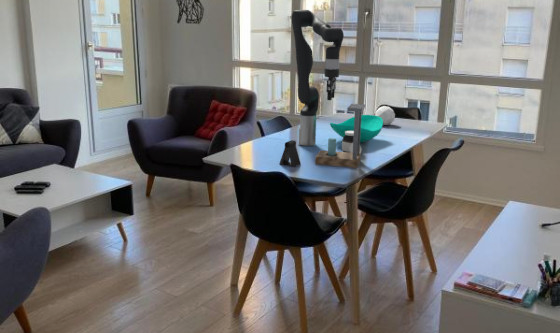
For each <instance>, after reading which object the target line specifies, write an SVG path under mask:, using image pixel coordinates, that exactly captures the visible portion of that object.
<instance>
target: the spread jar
mask: <svg viewBox="0 0 560 333" xmlns="http://www.w3.org/2000/svg"><path fill="white" fill-rule="evenodd" d="M353 137H354V131H346V132H345V136H344V137H342V141H341V150H342V151H341V152H349V153H353ZM361 146H362V145H360V153H362V147H361Z"/></svg>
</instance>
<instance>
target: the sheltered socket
mask: <svg viewBox="0 0 560 333" xmlns="http://www.w3.org/2000/svg"><path fill="white" fill-rule="evenodd" d="M365 109H366V104H363V103H351V104H350V105H348V107H347V110H346V111H347V112H354V117H355V118H354V137H353V153H349V152H343V151H336V156H328V150H322V149H321V150H319V152H318V153H317V154H316V155H315V156H314V159H315V160H314V165H315V166H316V165H319V166H331V167H342V168H343V167H344V168H355V169H356V168H358V166H359V165H360V162H361V155H362V154H361V153H362V152H361V153H360V146H361V142H360V135H361V116H362V115H363V113H362V112H363V111H364V110H365Z"/></svg>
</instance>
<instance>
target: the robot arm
mask: <svg viewBox="0 0 560 333" xmlns="http://www.w3.org/2000/svg"><path fill="white" fill-rule="evenodd" d="M291 25H292V30H293V37H294V44H295V47H294V48H295V58H296V59H295V60H296V68H297V97H298V98H297V99H298V100H299V102H300V103H301V104H303V105H304V106H303V107H302V108H301V109H300V110H299V111H300V113H299V116H300V117H299V120H300V121H299V129H298V145H299V146H303V147H304V146H305V147H312V146H316V142H317V138H316V136H317V113H318V111H319V102H320V94H319V90H318V88H317V87H315V86H310V75H311V71H312V68H313V64H314V58H313V57H314V55H313V50H312V48H311V46H310V44H309V42H308V41H307V40H306V38H305V37H304V34H303V29H302V28H306V27H309V28H312V30H313V32H314V33H315V34H316V35H317V36H320V38H321V39H322V40H323V41H324V42H327V43H332V45H331V46H328V47H326V48H325V61H324V77H325V78H327V80H326V93H327V96H326V97H327V98H326V100H327V101H332V99H335V93H336V92H335V91H336V88H337V78H339V77H340V51H341V47H342V44H343V41H344V31H343V29H342V28H339V27H332V26H331V25H330V24H328V23H326V22H325V21H323V20H321V19H320V18H319V17H318V16H316V14H314V13H313V12H312V11H311V10H309V9H296V10H293V12H292V14H291Z"/></svg>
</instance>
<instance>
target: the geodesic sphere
mask: <svg viewBox="0 0 560 333" xmlns="http://www.w3.org/2000/svg"><path fill="white" fill-rule="evenodd" d="M374 116H379V117H381V118H382V120H383V126H384V125H387V126H389V125H391V124H392V123H393V122H394V121H395V116H396V113H395V111H394V109H393V108H391V107H390V106H388V105H387V106H386V105H382V106H380V107H378V109H377V110H376V111H375V113H374Z"/></svg>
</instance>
